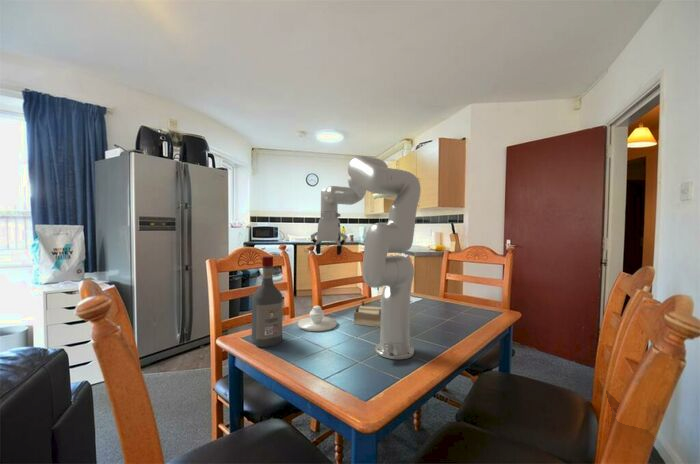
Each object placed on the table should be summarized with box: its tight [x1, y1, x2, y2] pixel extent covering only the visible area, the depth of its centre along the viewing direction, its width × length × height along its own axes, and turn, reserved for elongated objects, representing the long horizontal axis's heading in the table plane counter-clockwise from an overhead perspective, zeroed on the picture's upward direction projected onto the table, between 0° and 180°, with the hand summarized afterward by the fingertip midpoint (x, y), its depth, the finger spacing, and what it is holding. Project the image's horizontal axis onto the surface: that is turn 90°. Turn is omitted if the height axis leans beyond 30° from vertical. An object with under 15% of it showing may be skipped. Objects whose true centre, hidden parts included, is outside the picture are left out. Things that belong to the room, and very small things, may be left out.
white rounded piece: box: [309, 305, 325, 323], centre depth 123 cm, size 6×6×7 cm
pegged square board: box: [353, 300, 381, 328], centre depth 129 cm, size 12×12×7 cm
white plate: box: [297, 316, 338, 332], centre depth 123 cm, size 16×16×1 cm
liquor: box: [251, 255, 284, 348], centre depth 105 cm, size 9×9×30 cm
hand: (328, 254), depth 134 cm, fingers open, 9 cm apart
